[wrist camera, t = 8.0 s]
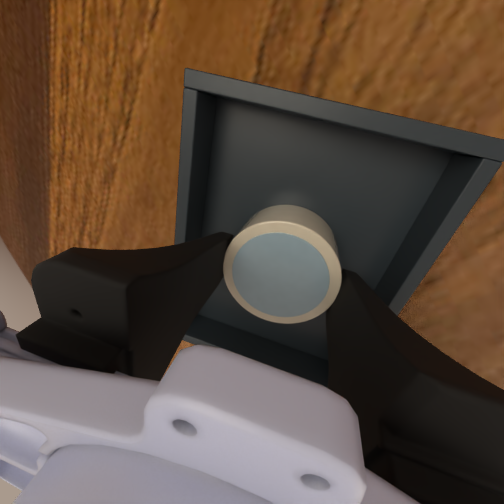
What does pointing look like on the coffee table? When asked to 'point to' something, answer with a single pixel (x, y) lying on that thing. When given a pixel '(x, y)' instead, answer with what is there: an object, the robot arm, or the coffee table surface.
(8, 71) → the coffee table surface
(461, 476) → the robot arm
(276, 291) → the dish
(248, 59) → the coffee table surface
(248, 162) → the tray
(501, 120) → the coffee table surface
